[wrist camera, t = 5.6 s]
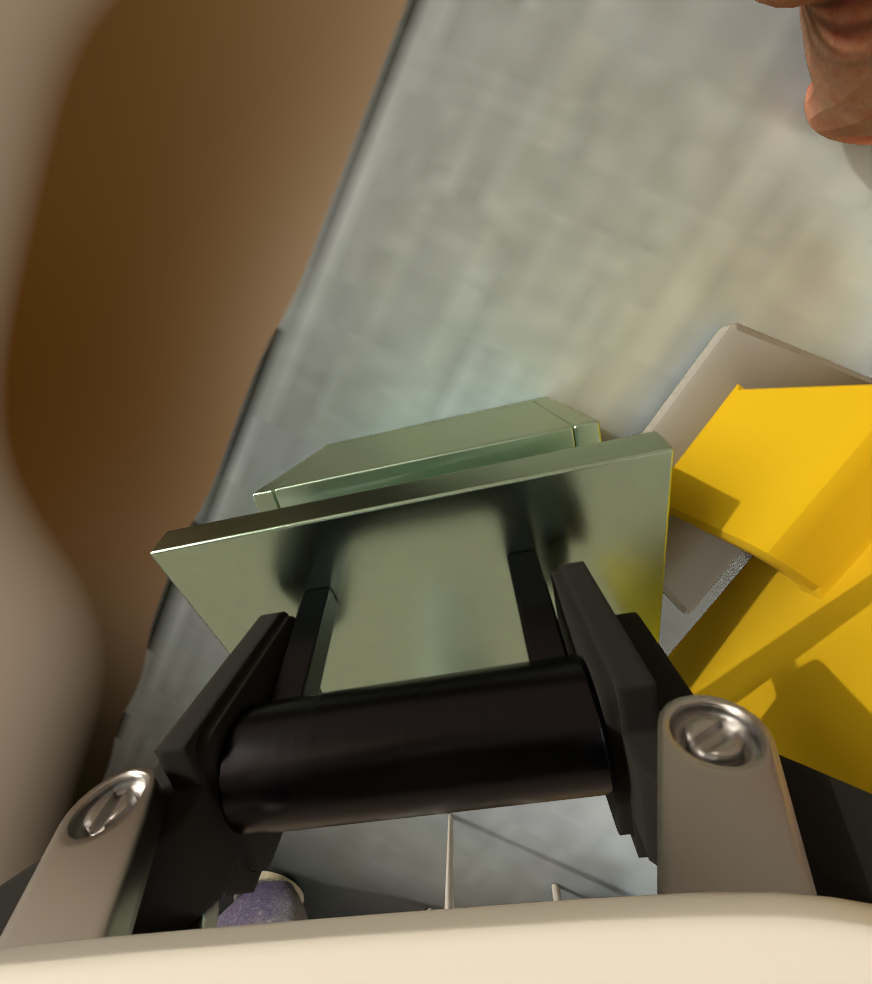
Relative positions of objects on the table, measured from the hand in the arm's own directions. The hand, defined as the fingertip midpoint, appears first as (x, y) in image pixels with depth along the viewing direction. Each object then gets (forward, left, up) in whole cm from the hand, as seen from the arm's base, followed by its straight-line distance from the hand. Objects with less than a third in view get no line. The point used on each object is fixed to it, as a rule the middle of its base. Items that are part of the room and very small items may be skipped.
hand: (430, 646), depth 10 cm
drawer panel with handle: (0, +3, -3) cm, 4 cm away
